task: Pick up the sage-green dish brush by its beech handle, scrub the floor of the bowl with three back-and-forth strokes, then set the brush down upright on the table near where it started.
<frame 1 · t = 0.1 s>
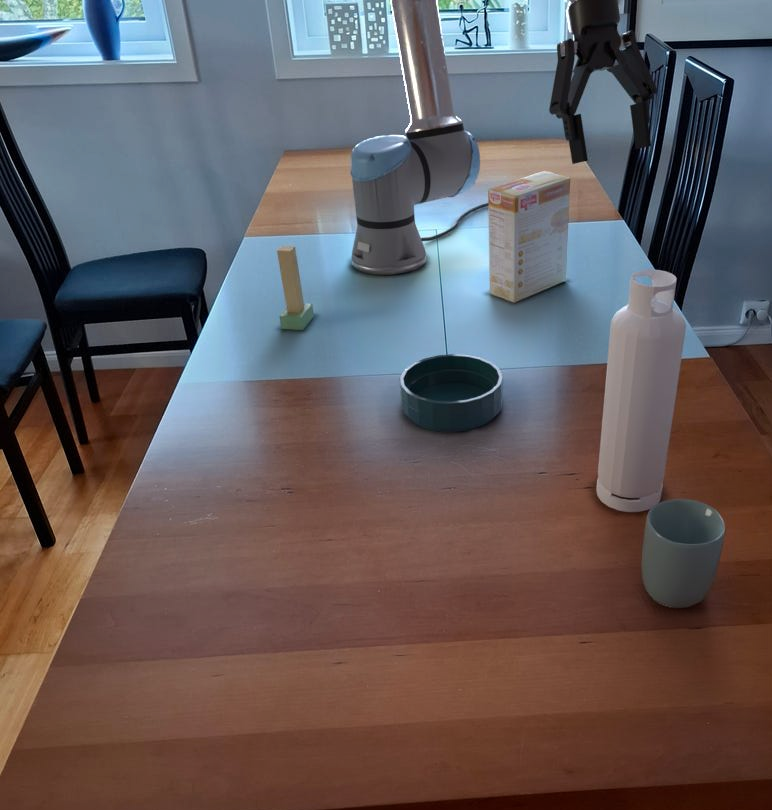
hand: (612, 155, 125), 28 cm above the table, tool tilted 20°, fingers open, 13 cm apart
bottle: (628, 493, 102), on the table
brush: (298, 322, 144), on the table
bowl: (452, 407, 120), on the table
cup: (673, 595, 87), on the table
coffeecake box: (528, 288, 156), on the table
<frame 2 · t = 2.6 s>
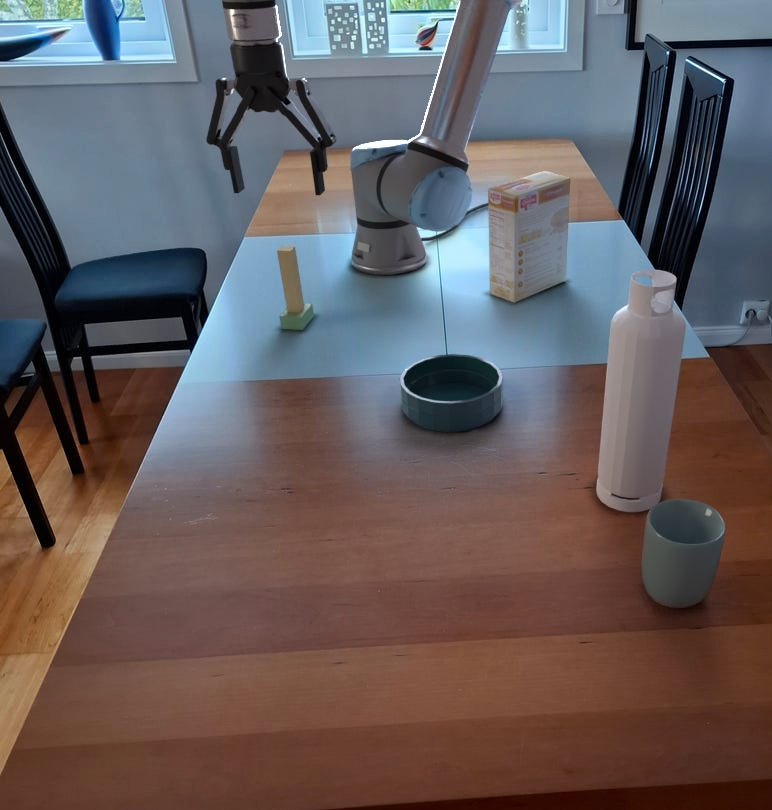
hand: (279, 192, 130), 23 cm above the table, tool pointing down, fingers open, 13 cm apart
nothing on the table moved.
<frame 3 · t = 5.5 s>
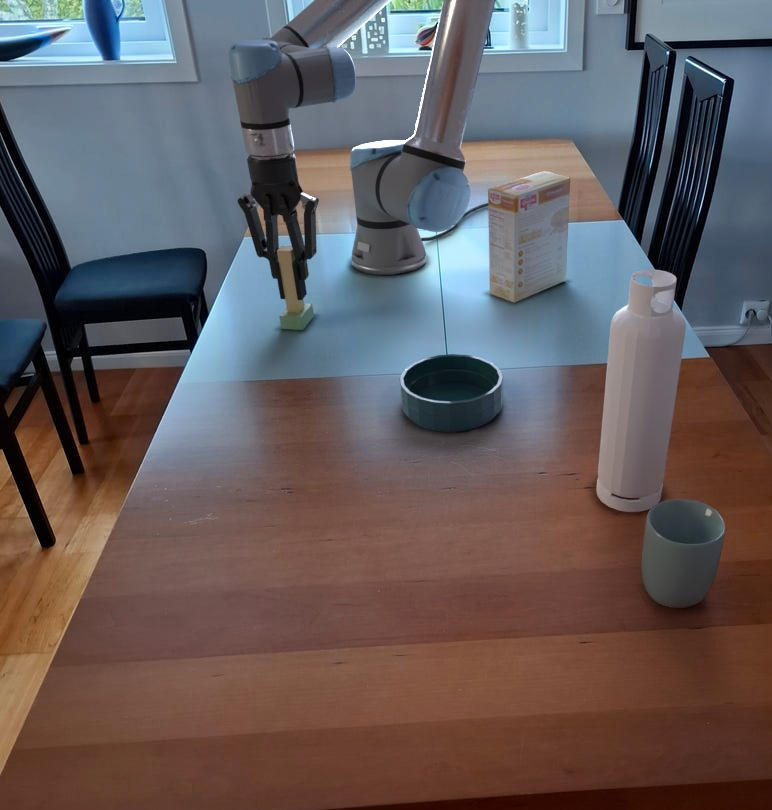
hand: (293, 296, 141), 5 cm above the table, tool pointing down, fingers closed on brush, 2 cm apart
brush: (298, 322, 144), on the table, touching gripper
everything else where it was.
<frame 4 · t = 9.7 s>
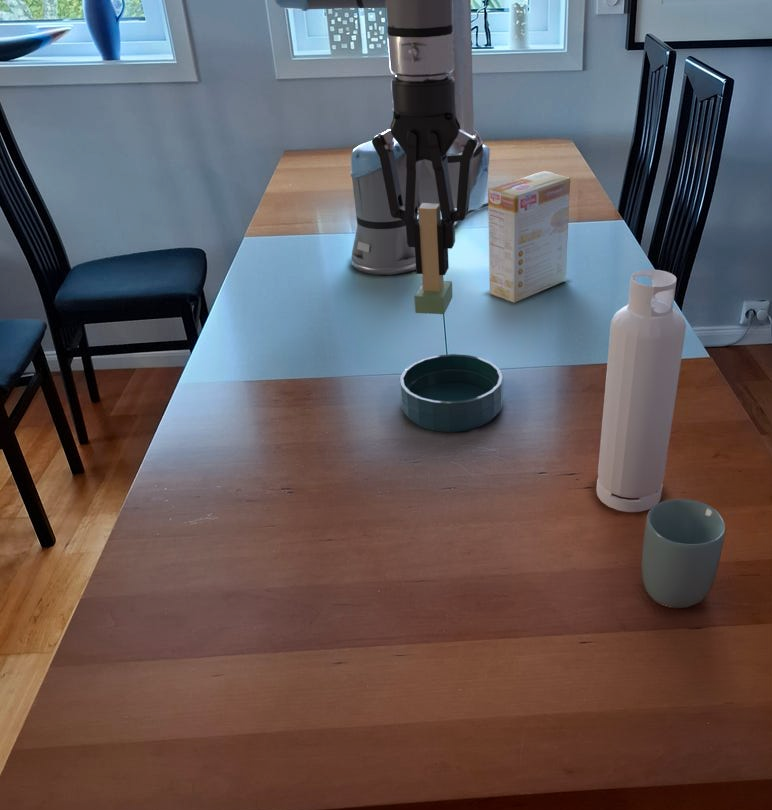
hand: (432, 270, 109), 20 cm above the table, tool pointing down, fingers closed on brush, 2 cm apart
brush: (434, 305, 112), point 15 cm above the table, touching gripper
everything else where it was.
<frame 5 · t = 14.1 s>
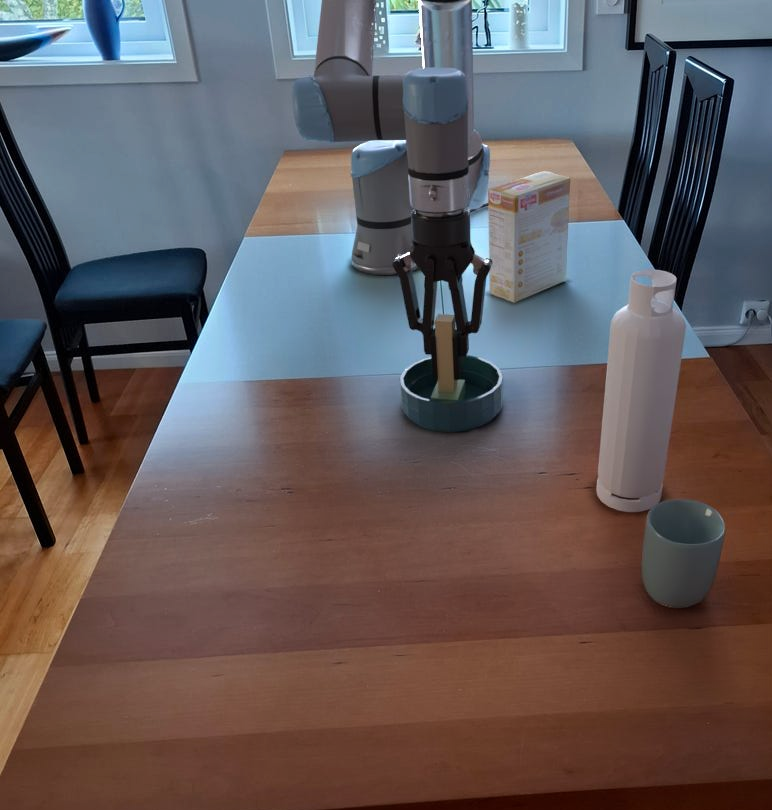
hand: (447, 374, 116), 5 cm above the table, tool pointing down, fingers closed on brush, 2 cm apart
brush: (448, 402, 119), point 1 cm above the table, touching gripper
everything else where it was.
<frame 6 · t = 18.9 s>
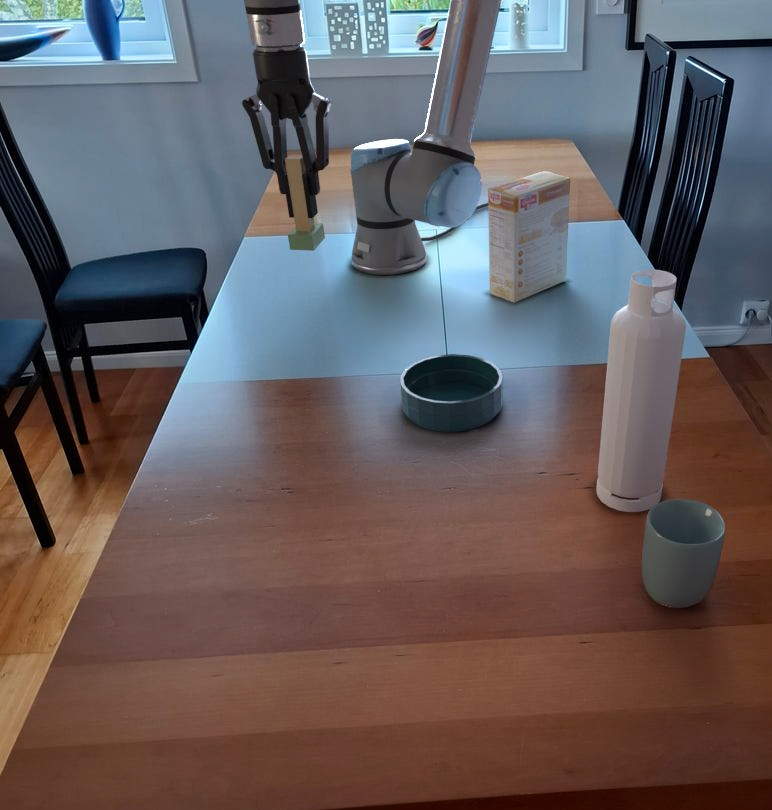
hand: (303, 214, 129), 20 cm above the table, tool pointing down, fingers closed on brush, 2 cm apart
brush: (307, 243, 132), point 16 cm above the table, touching gripper
everything else where it was.
when the fingers open (5 cm above the table, at t = 22.8 s): brush stays where it is, on the table.
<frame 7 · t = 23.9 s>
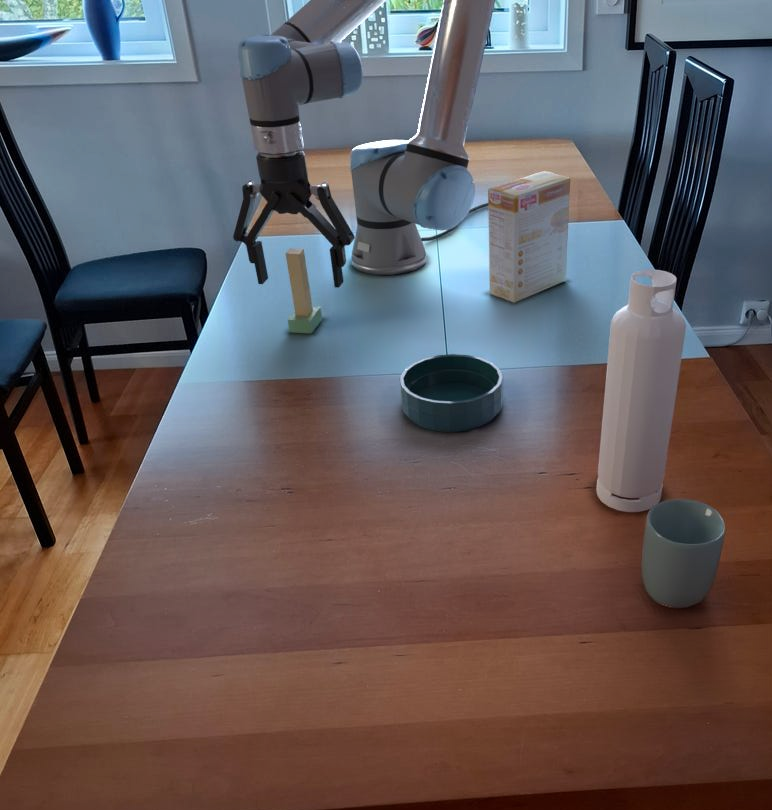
hand: (301, 283, 139), 8 cm above the table, tool pointing down, fingers open, 13 cm apart
brush: (306, 325, 143), on the table
everything else where it was.
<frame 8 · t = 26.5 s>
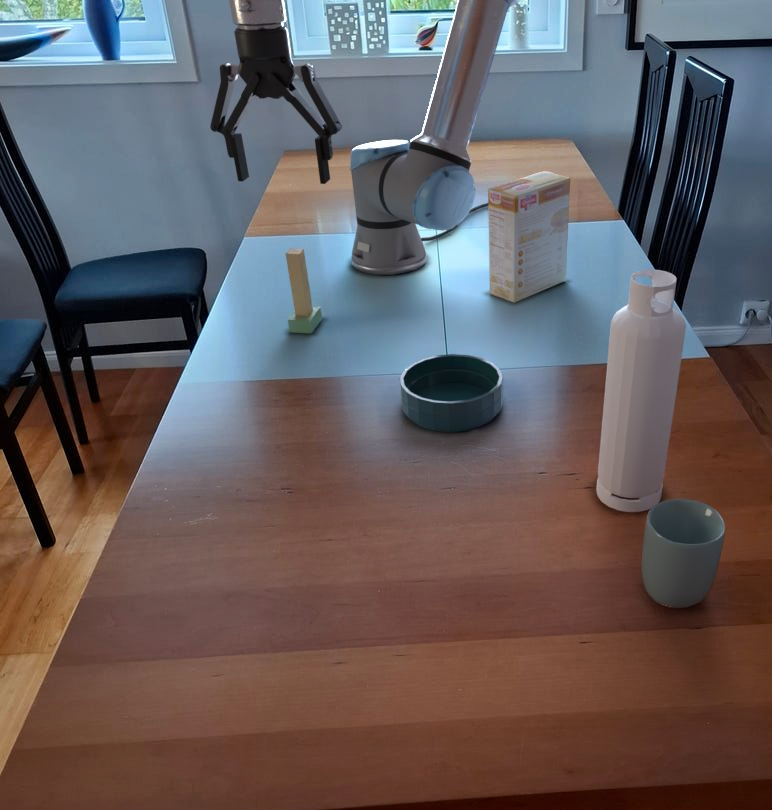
hand: (284, 180, 128), 25 cm above the table, tool pointing down, fingers open, 13 cm apart
nothing on the table moved.
at the end: brush tilted 0°; the gripper is holding nothing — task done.
